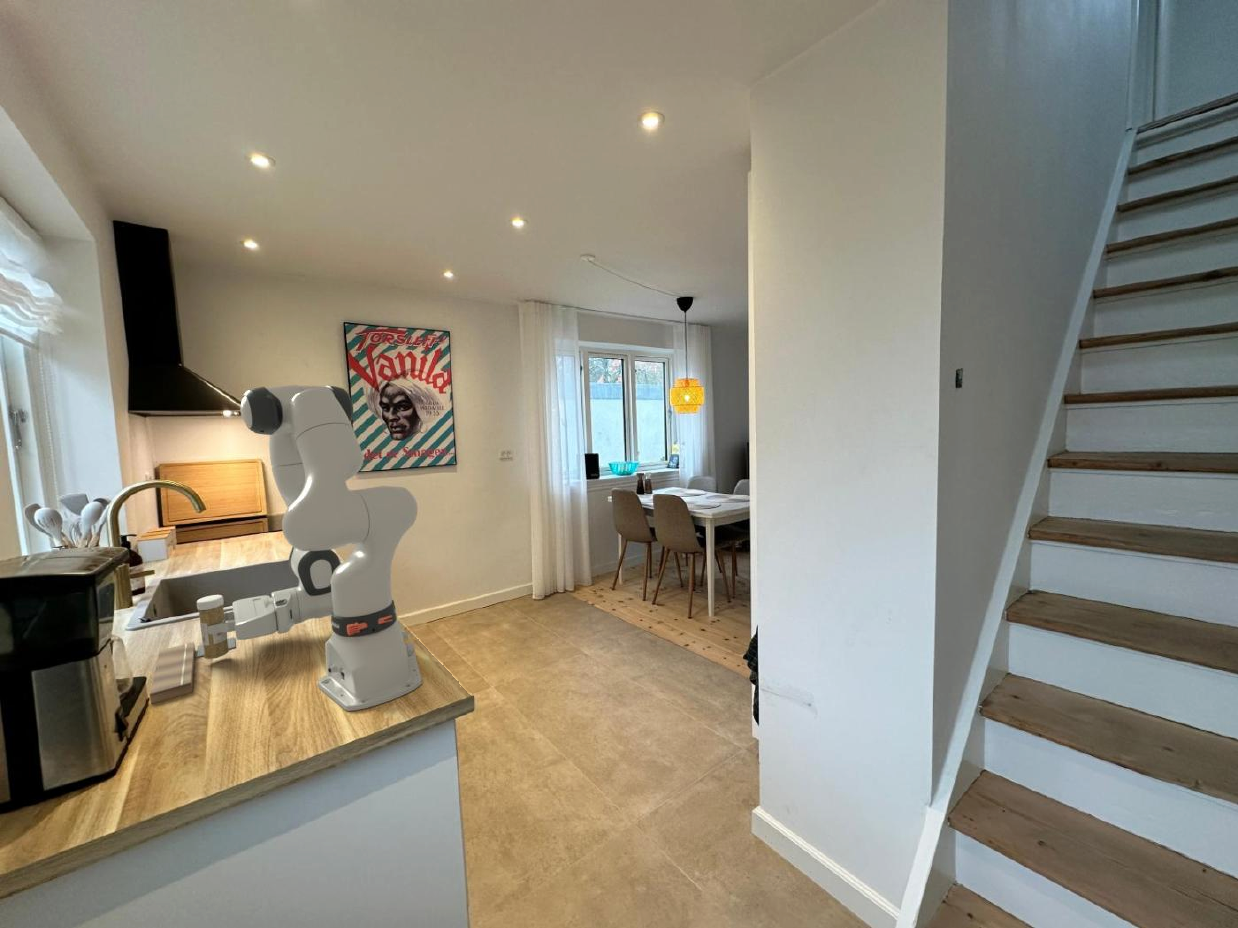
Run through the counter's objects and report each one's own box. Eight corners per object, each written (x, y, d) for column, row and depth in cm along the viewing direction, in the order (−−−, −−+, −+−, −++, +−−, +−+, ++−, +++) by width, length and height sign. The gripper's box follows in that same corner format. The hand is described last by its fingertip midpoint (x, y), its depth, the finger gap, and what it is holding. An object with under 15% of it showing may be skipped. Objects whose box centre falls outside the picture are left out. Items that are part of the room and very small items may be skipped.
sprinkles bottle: (228, 655, 110) (221, 598, 109) (202, 661, 108) (194, 603, 106) (230, 647, 114) (223, 592, 112) (205, 653, 112) (198, 596, 110)
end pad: (235, 647, 117) (235, 646, 117) (197, 657, 113) (197, 656, 113) (234, 638, 123) (234, 636, 123) (197, 647, 118) (197, 646, 118)
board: (192, 691, 98) (190, 681, 98) (151, 703, 95) (149, 693, 94) (195, 650, 117) (194, 641, 117) (160, 658, 113) (159, 649, 113)
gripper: (276, 585, 126) (206, 600, 117) (285, 607, 110) (205, 626, 101) (279, 609, 126) (209, 625, 118) (288, 634, 111) (209, 655, 102)
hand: (207, 626), depth 109 cm, fingers closed on sprinkles bottle, 4 cm apart
